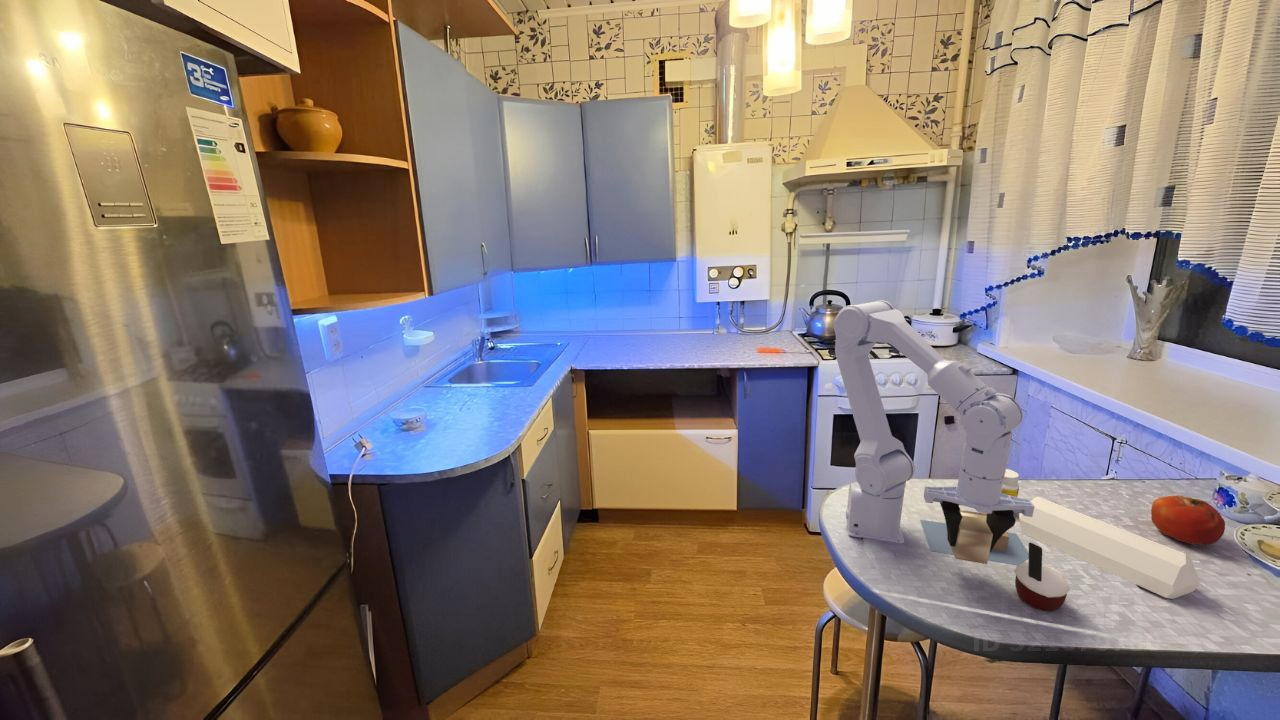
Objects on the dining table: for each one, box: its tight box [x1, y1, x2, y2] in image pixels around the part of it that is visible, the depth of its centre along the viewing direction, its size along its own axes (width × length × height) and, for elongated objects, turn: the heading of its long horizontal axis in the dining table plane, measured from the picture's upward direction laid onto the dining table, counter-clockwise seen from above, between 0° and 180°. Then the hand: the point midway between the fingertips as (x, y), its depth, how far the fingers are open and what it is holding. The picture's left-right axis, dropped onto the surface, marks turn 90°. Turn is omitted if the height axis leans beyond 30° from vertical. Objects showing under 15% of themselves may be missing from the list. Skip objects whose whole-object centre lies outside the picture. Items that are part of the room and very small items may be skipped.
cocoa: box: [1014, 542, 1071, 612], centre depth 75 cm, size 10×6×12 cm, turn 97°
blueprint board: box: [919, 519, 1029, 566], centre depth 90 cm, size 16×10×1 cm, turn 71°
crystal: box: [1018, 496, 1200, 600], centre depth 86 cm, size 7×7×24 cm
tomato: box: [1150, 494, 1226, 546], centre depth 90 cm, size 9×9×8 cm
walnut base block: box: [960, 509, 1009, 551], centre depth 91 cm, size 7×7×3 cm
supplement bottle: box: [1001, 468, 1020, 498], centre depth 99 cm, size 5×5×8 cm
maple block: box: [950, 516, 993, 565], centre depth 81 cm, size 4×4×6 cm
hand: (968, 545), depth 81 cm, fingers closed on maple block, 4 cm apart
